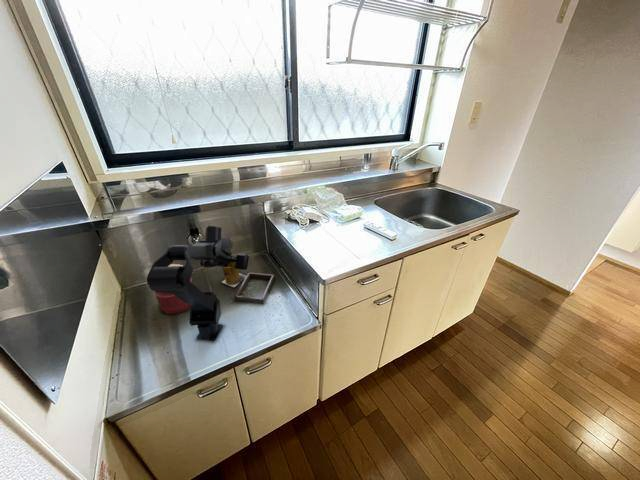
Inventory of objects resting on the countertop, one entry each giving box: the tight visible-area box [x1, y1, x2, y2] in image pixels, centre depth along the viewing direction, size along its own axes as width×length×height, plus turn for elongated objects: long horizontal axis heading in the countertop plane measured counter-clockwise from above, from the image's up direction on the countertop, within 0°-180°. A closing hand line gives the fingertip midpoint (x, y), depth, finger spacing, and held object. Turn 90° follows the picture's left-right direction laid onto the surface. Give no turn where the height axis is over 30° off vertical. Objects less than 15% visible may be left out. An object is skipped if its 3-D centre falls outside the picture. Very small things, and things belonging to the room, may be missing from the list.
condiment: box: [221, 254, 247, 288], centre depth 110 cm, size 7×8×12 cm
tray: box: [234, 271, 275, 305], centre depth 108 cm, size 16×12×2 cm
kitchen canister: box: [153, 263, 194, 315], centre depth 97 cm, size 13×13×18 cm
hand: (233, 263), depth 111 cm, fingers open, 9 cm apart
